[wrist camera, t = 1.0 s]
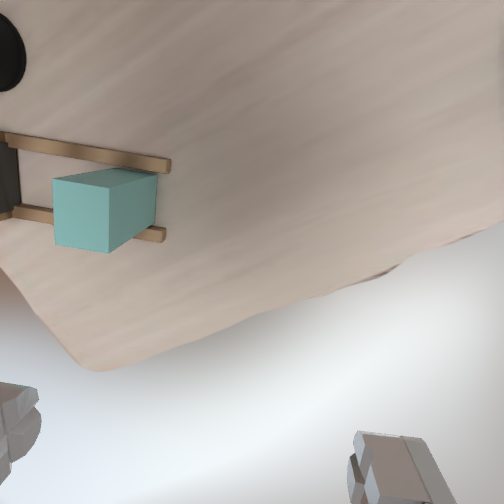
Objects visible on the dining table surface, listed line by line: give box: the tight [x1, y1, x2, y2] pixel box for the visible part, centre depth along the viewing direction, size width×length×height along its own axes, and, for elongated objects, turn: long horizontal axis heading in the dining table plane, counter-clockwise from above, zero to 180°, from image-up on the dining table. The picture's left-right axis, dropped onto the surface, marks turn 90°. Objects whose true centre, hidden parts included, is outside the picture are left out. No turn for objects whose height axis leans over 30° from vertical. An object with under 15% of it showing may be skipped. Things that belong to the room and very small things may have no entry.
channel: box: [0, 131, 171, 243], centre depth 38 cm, size 21×10×6 cm, turn 81°
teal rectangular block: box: [52, 168, 157, 254], centre depth 35 cm, size 5×6×12 cm
